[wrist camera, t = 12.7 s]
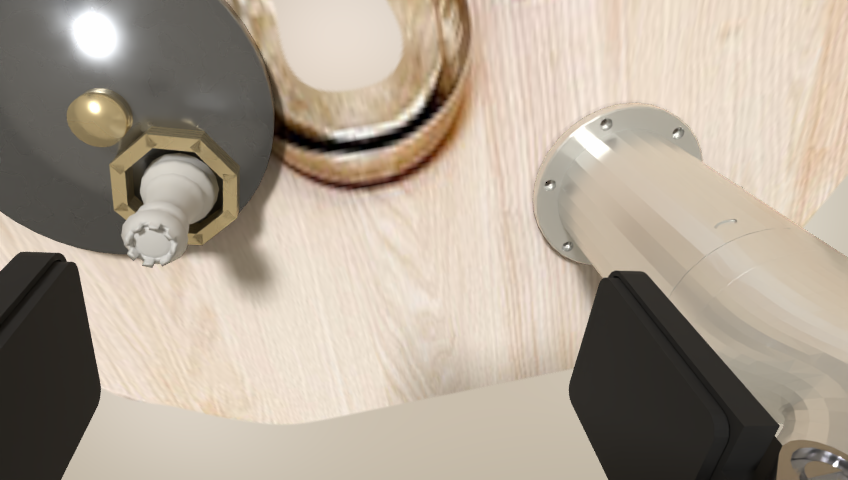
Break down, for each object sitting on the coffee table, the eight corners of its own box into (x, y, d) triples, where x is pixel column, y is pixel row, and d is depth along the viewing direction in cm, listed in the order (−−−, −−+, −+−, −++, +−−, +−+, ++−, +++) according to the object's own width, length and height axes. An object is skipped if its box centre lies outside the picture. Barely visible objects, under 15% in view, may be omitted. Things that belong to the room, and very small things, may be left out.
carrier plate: (281, -40, 33) (278, -36, 30) (269, 251, 41) (266, 274, 39) (-114, -105, 29) (-157, -106, 26) (-34, 233, 37) (-61, 257, 35)
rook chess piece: (204, 225, 38) (178, 294, 31) (134, 197, 36) (90, 264, 30) (231, 169, 36) (209, 228, 30) (159, 137, 35) (118, 192, 28)
